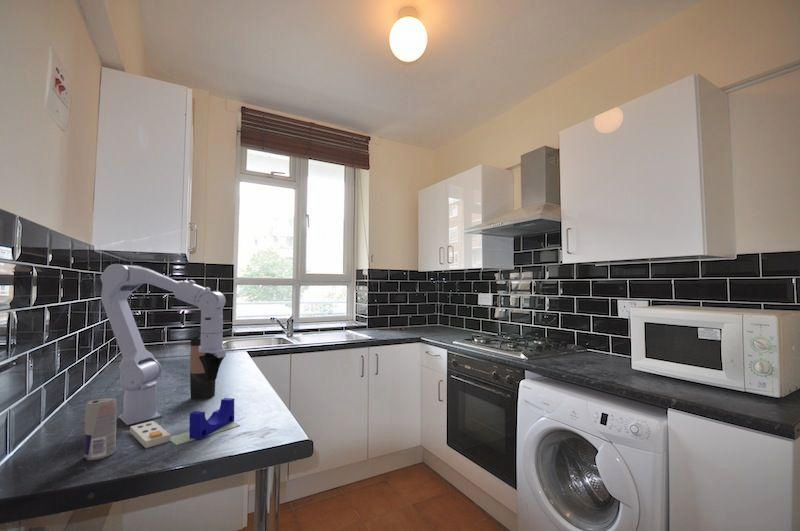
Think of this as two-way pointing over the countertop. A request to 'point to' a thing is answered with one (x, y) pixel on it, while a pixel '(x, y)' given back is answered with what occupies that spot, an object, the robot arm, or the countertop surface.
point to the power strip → (150, 434)
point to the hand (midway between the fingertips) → (211, 379)
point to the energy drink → (100, 428)
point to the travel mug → (199, 374)
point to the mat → (185, 438)
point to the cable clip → (211, 419)
